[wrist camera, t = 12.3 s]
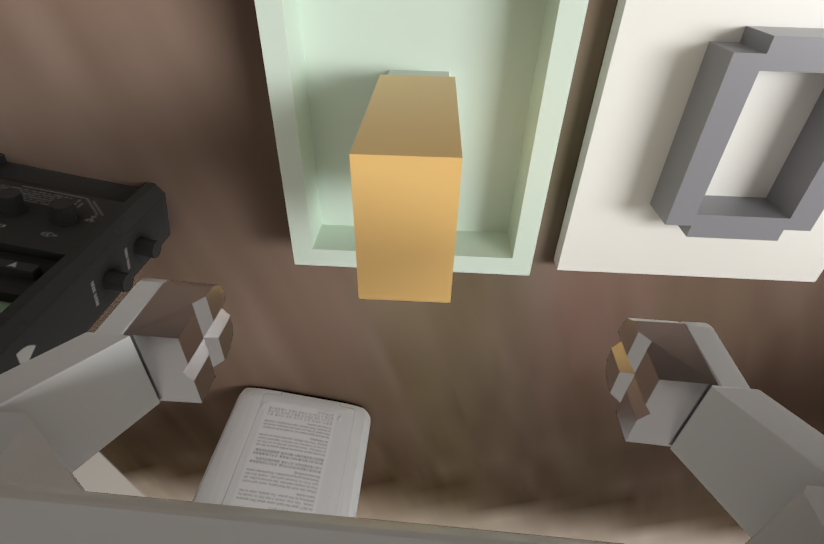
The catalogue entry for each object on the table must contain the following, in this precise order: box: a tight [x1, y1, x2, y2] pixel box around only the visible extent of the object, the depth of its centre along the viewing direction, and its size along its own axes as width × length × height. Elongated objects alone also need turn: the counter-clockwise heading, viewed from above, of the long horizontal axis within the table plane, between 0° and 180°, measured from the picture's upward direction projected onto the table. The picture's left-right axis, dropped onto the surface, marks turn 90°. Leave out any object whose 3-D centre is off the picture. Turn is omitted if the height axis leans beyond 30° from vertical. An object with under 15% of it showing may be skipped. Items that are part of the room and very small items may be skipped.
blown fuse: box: [349, 70, 463, 303], centre depth 18 cm, size 3×5×10 cm, turn 179°
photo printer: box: [192, 388, 370, 518], centre depth 31 cm, size 10×4×12 cm, turn 79°
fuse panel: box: [554, 0, 824, 282], centre depth 21 cm, size 14×16×3 cm
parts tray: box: [254, 0, 589, 275], centre depth 21 cm, size 12×14×3 cm
